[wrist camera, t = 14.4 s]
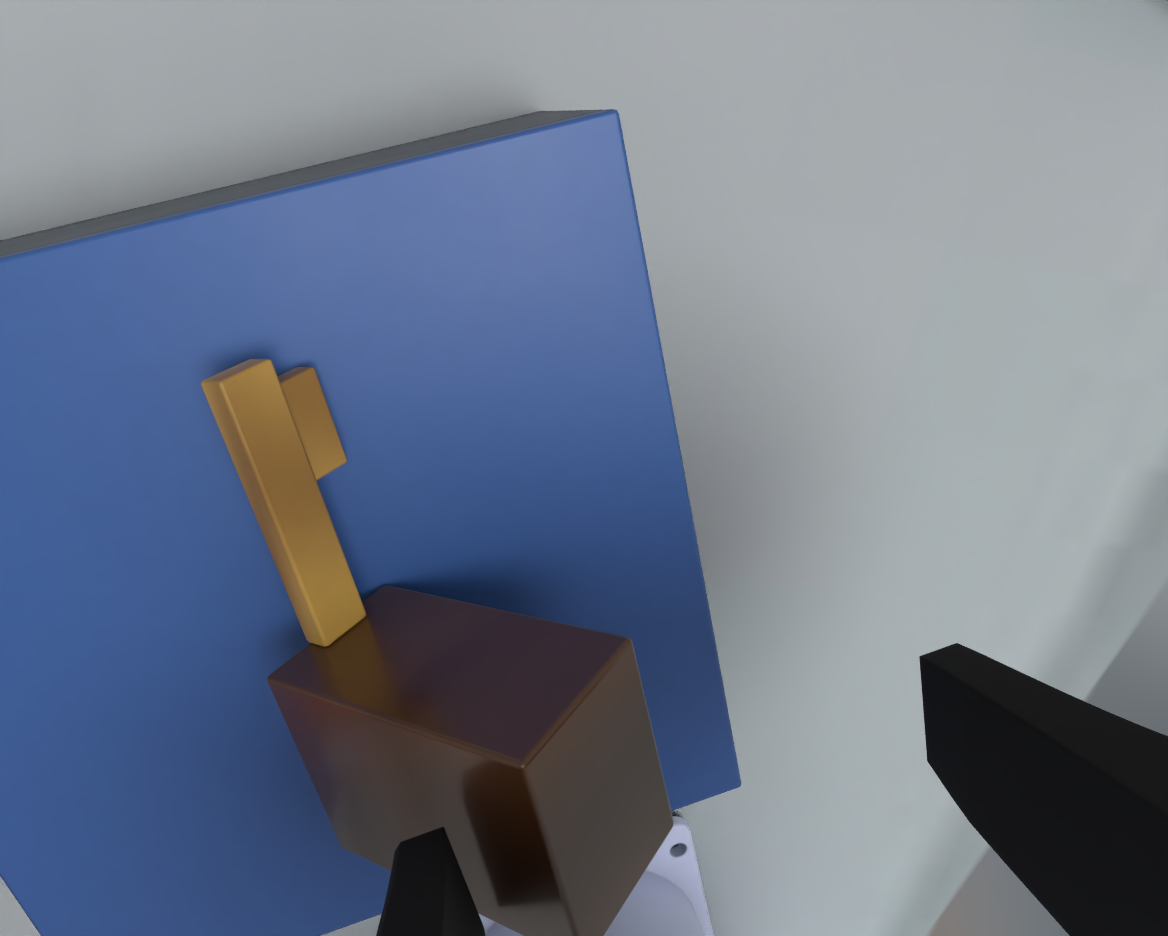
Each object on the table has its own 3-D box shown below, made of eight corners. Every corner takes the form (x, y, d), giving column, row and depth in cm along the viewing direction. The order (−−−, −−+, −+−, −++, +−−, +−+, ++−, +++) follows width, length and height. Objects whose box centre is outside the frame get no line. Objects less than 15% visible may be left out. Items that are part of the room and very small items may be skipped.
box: (189, 788, 22) (143, 974, 18) (-88, 261, 17) (-267, 321, 12) (655, 635, 24) (730, 766, 19) (541, 110, 19) (607, 108, 14)
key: (442, 743, 17) (676, 825, 14) (340, 848, 15) (585, 969, 12) (296, 336, 13) (564, 331, 10) (141, 406, 11) (414, 423, 9)
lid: (102, 989, 18) (93, 1017, 17) (-331, 336, 12) (-364, 346, 11) (732, 768, 19) (743, 787, 19) (608, 108, 14) (618, 108, 13)
